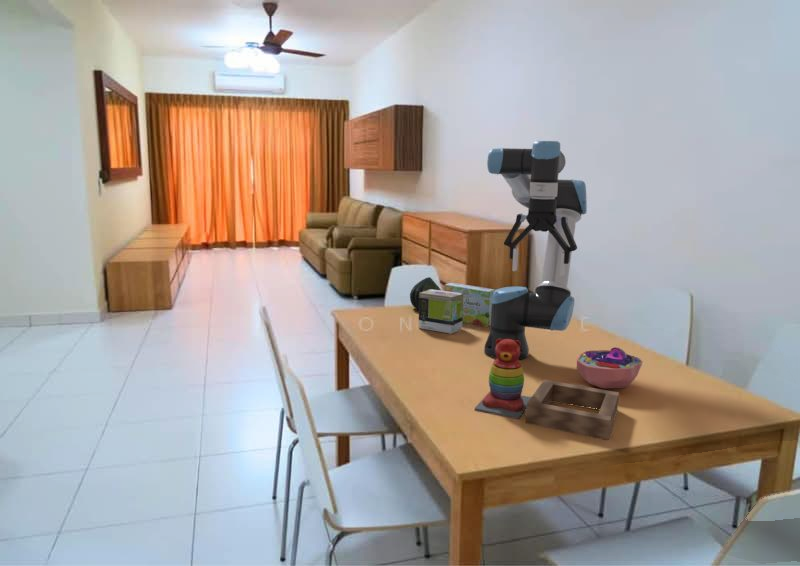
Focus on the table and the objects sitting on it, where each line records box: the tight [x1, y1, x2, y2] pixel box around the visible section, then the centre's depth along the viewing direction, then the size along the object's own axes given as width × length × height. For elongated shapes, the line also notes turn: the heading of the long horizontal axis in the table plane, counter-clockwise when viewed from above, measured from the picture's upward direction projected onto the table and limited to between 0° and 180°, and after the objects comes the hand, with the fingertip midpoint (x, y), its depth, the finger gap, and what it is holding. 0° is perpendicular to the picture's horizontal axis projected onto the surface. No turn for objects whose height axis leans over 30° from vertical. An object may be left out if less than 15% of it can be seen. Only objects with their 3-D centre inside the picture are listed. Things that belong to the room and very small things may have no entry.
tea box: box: [418, 289, 463, 335], centre depth 232 cm, size 15×10×15 cm, turn 58°
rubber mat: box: [474, 391, 532, 420], centre depth 160 cm, size 12×15×1 cm
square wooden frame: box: [524, 379, 620, 441], centre depth 153 cm, size 20×20×5 cm
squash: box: [409, 276, 442, 310], centre depth 264 cm, size 14×15×15 cm
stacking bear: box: [482, 339, 525, 412], centre depth 159 cm, size 11×10×18 cm
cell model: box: [576, 346, 643, 390], centre depth 175 cm, size 17×20×11 cm
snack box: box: [444, 282, 496, 328], centre depth 244 cm, size 21×6×15 cm, turn 55°
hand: (538, 272), depth 168 cm, fingers open, 13 cm apart
